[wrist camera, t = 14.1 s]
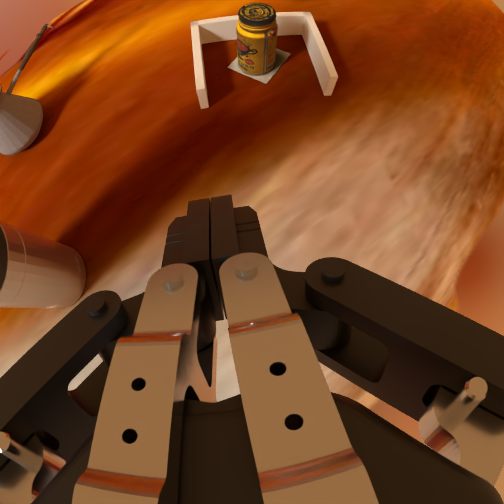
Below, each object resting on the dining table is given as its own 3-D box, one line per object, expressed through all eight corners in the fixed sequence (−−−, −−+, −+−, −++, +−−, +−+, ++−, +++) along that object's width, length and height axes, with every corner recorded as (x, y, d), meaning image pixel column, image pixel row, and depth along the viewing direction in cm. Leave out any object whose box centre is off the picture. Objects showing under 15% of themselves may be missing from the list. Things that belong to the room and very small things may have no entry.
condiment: (227, 68, 46) (222, 16, 34) (253, 40, 47) (254, -11, 35) (266, 84, 45) (269, 31, 34) (290, 55, 47) (298, 4, 35)
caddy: (201, 108, 45) (196, 89, 40) (194, 41, 47) (190, 22, 42) (331, 95, 45) (338, 76, 40) (306, 30, 48) (310, 12, 43)
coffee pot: (18, 171, 43) (-35, 137, 29) (-3, 143, 44) (-48, 110, 30) (98, 81, 46) (64, 27, 31) (69, 62, 47) (37, 15, 32)
